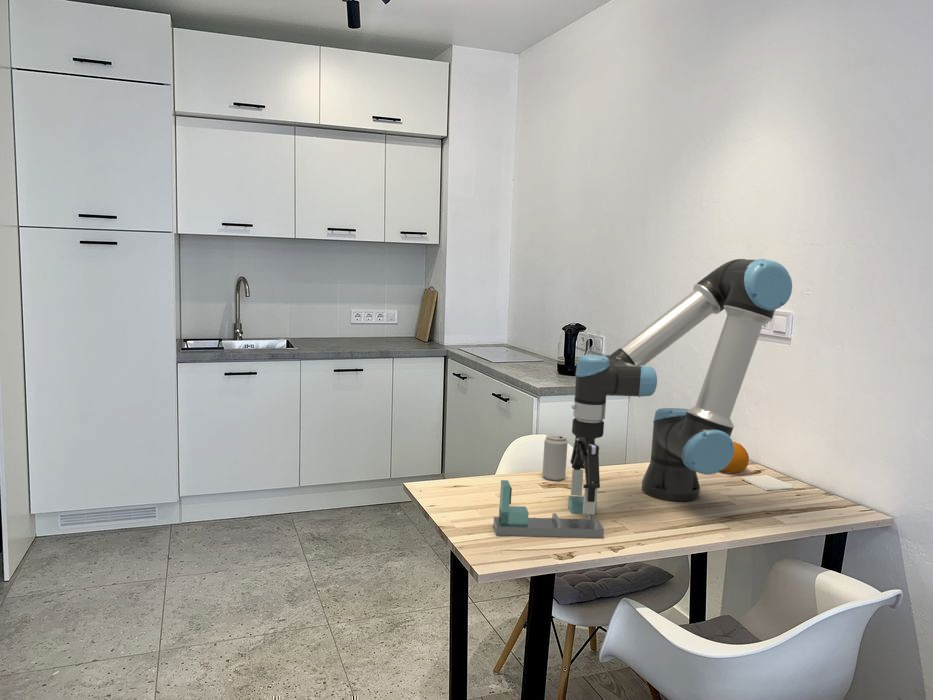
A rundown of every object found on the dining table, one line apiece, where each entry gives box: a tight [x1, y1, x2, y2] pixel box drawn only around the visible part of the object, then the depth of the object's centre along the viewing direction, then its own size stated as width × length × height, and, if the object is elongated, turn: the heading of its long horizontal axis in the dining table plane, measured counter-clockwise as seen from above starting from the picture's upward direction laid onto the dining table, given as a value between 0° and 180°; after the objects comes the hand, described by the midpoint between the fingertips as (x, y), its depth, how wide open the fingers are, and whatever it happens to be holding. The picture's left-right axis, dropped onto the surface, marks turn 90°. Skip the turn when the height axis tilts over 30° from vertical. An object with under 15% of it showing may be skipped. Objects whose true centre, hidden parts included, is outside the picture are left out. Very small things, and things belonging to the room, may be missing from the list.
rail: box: [492, 479, 605, 539], centre depth 163 cm, size 24×6×11 cm, turn 94°
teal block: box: [567, 482, 599, 515], centre depth 178 cm, size 6×4×9 cm, turn 94°
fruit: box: [720, 441, 750, 474], centre depth 220 cm, size 12×12×10 cm
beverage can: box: [542, 433, 569, 482], centre depth 203 cm, size 6×6×12 cm
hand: (582, 504), depth 178 cm, fingers open, 13 cm apart
